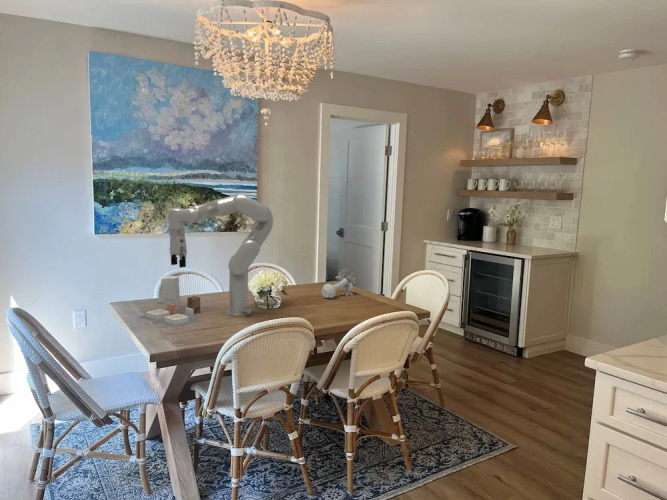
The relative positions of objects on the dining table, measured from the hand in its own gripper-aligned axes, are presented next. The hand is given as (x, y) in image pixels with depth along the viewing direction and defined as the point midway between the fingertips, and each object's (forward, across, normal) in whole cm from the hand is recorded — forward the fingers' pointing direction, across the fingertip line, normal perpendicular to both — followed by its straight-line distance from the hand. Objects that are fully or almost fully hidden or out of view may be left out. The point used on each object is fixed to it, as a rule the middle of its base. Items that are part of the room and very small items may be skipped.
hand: (178, 265), depth 253 cm
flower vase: (+28, -16, -96) cm, 101 cm away
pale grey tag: (+24, -14, +2) cm, 28 cm away
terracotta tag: (+24, 0, +5) cm, 25 cm away
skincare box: (+25, +22, -5) cm, 34 cm away
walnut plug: (+26, -5, -5) cm, 27 cm away
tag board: (+25, -8, +9) cm, 28 cm away
